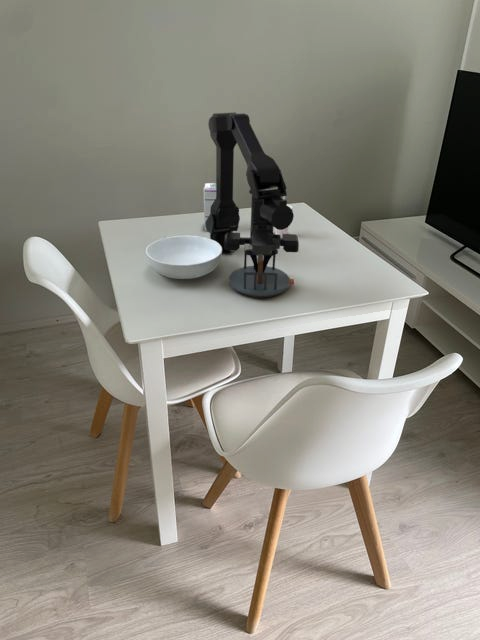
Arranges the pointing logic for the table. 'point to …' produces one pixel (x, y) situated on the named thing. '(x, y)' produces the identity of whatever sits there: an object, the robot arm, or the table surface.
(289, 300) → the table surface
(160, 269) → the serving bowl
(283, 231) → the smoothie
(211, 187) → the syrup box
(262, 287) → the drying rack
